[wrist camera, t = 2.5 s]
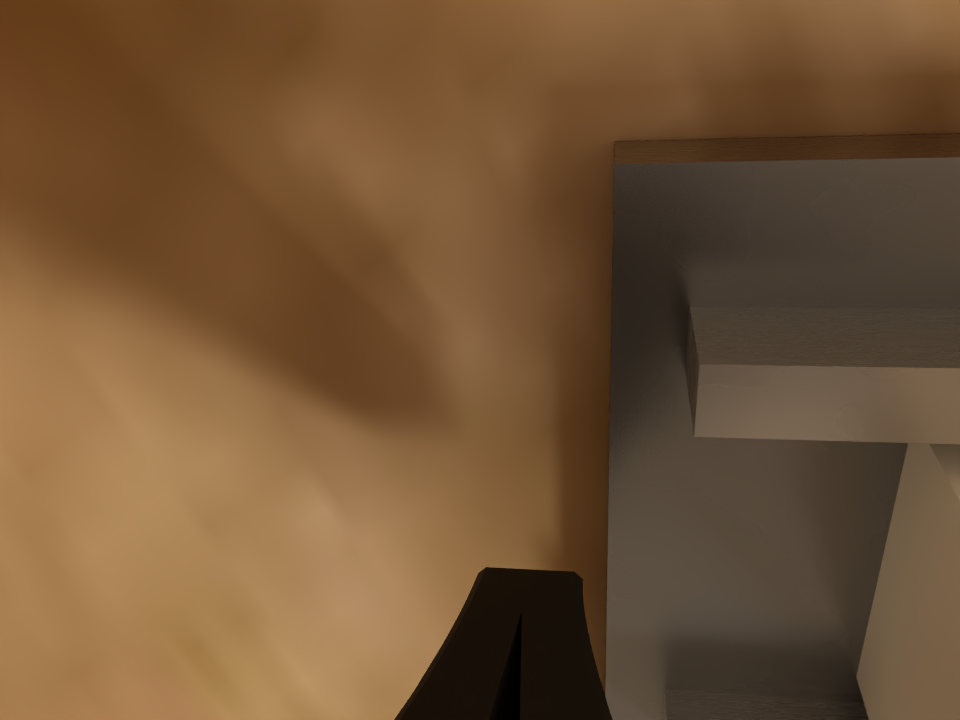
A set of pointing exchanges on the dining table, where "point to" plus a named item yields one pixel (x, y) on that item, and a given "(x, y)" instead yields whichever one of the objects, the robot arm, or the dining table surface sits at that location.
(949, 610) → the beige cardboard box
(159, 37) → the dining table surface
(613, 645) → the dock
